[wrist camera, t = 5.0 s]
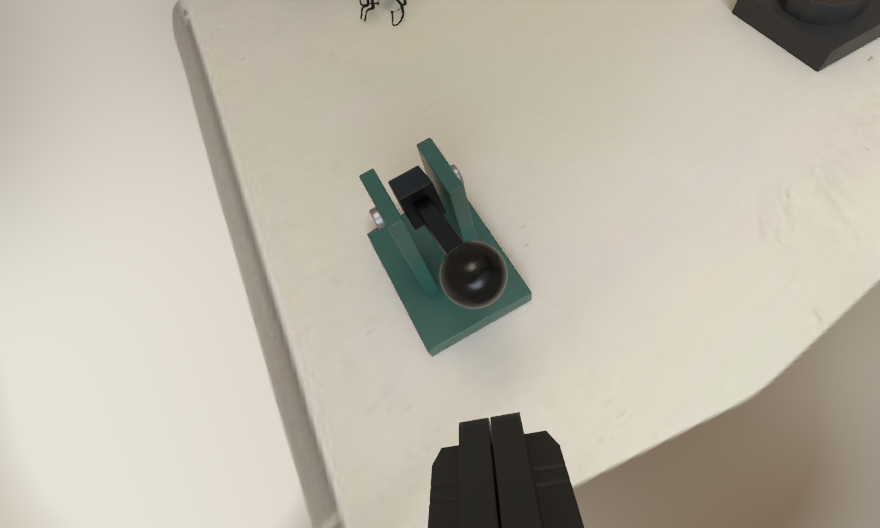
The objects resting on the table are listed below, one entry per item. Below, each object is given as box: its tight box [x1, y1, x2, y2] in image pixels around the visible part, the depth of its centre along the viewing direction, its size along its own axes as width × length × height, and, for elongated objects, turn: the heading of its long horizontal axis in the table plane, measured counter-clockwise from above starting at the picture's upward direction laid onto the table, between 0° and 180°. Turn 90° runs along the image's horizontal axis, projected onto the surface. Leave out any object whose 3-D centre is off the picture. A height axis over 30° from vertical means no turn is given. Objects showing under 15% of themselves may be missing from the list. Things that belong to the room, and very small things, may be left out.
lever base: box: [359, 138, 531, 356], centre depth 33 cm, size 12×9×13 cm
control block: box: [732, 0, 880, 71], centre depth 40 cm, size 10×8×4 cm
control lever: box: [388, 166, 508, 309], centre depth 25 cm, size 12×3×3 cm, turn 28°
